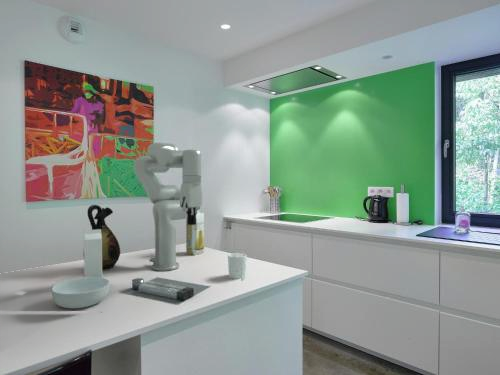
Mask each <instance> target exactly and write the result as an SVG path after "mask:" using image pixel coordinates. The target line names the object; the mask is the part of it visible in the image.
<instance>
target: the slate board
mask: <svg viewBox="0 0 500 375" xmlns="http://www.w3.org/2000/svg"><path fill="white" fill-rule="evenodd" d="M148 281H155V282H160V283H166V284H171V285H177V286H182V287H190V288H194V296H192V297H190V298H188V299H187V300H189V299H192V298H193V297H195V296H196V295H198V294H200V293H202V292H204V291H206V290H208V289H209V288H210V287H211V286H209V285H204V284H199V283H194V282H186V281H183V280H181V281H180V280H176V279H175V280H174V279H169V278H164V277H155V278H152V279H150V280H148ZM145 282H146V281H144V283H145ZM119 294H125V295H128V296H132V297H136V298H137V297H139V298H143V299H148V300H153V301H157V302H163V303H167V304H171V305H177V306H178V305H180V304H182V303H184V302H186V301H187V300H185V301H181V300H177V299H174V298H169V297H164V296H159V295H154V294H149V293H144V292H139V290H134V289H132V287H130V288H127V289H125V290H122V291H120V292H119Z"/></svg>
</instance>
